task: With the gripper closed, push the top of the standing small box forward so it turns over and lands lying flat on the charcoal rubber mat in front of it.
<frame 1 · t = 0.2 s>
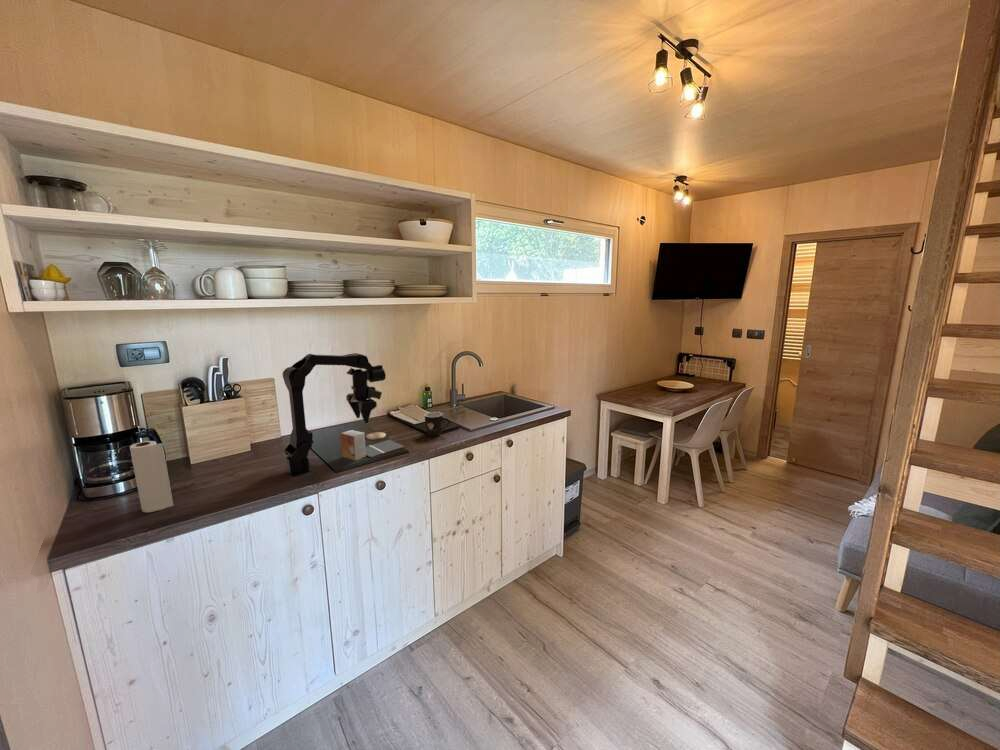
hand: (362, 420, 167), 14 cm above the worktop, fingers open, 9 cm apart
coffee mug: (436, 435, 191), on the worktop
small box: (354, 457, 165), on the worktop
paper towel roll: (156, 509, 125), on the worktop
mat: (380, 449, 173), on the worktop
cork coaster: (375, 436, 189), on the worktop
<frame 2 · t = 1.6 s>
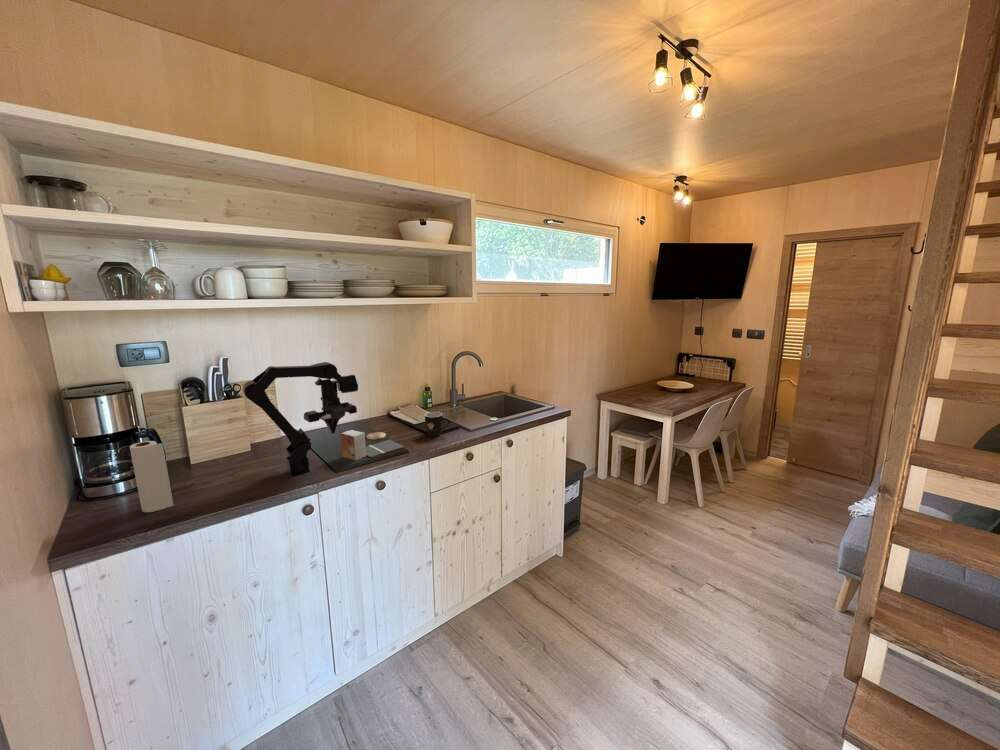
hand: (332, 433, 157), 12 cm above the worktop, fingers closed
nothing on the worktop moved.
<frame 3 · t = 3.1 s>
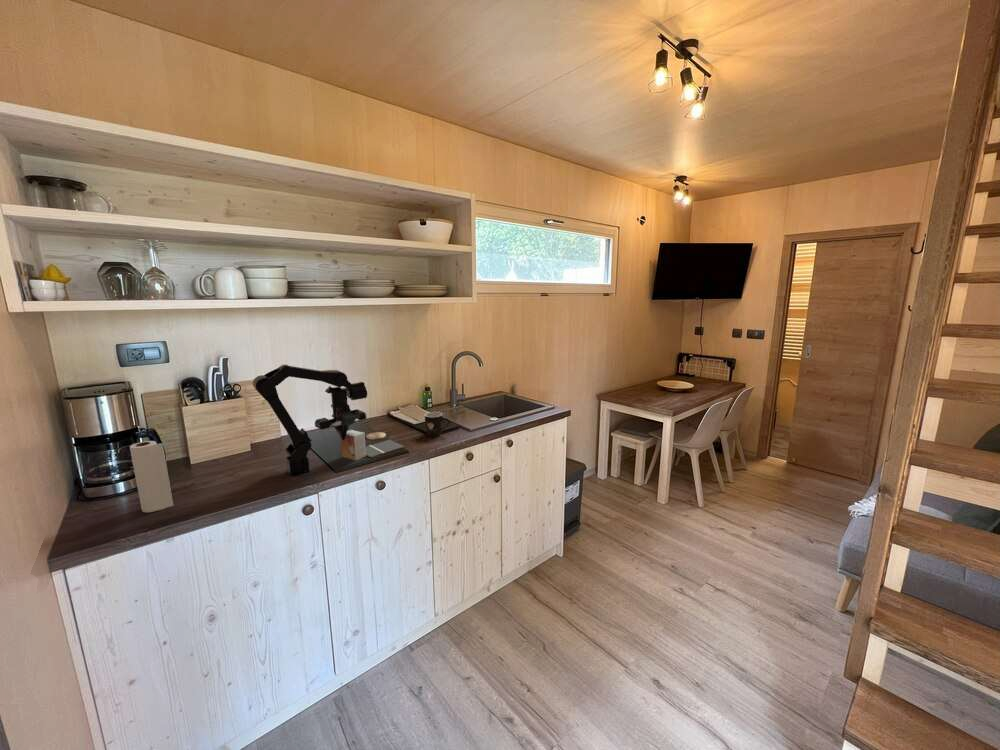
hand: (343, 439, 160), 9 cm above the worktop, fingers closed
small box: (354, 457, 165), on the worktop, touching gripper
everything else where it was.
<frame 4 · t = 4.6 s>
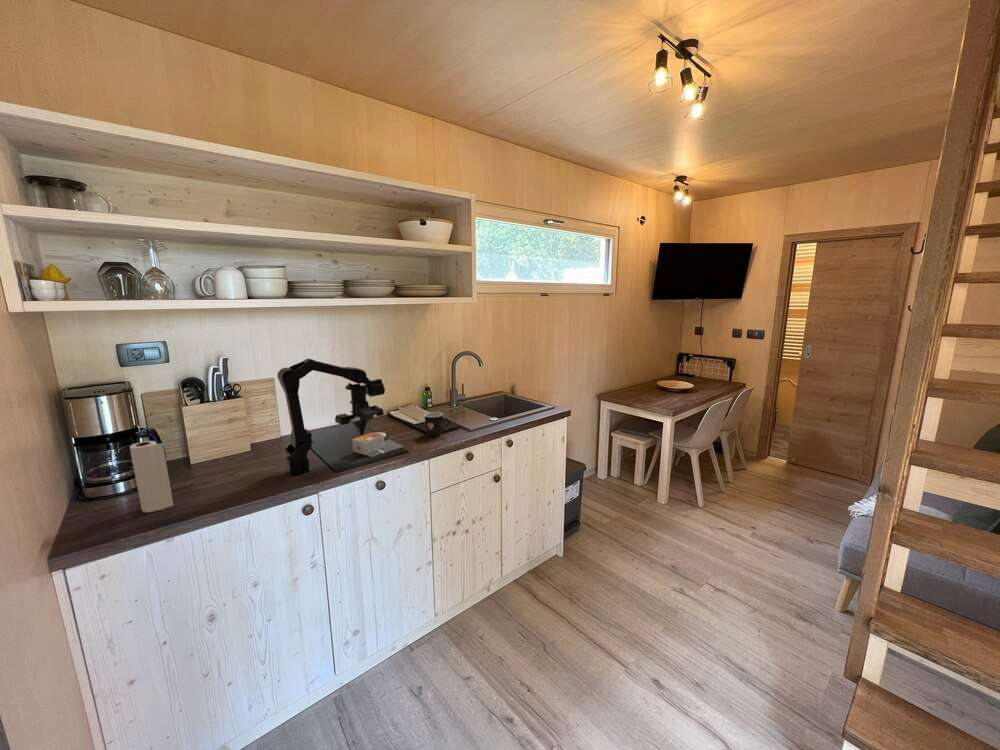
hand: (361, 434, 166), 9 cm above the worktop, fingers closed
small box: (357, 447, 166), point 3 cm above the worktop, touching mat
everything else where it was.
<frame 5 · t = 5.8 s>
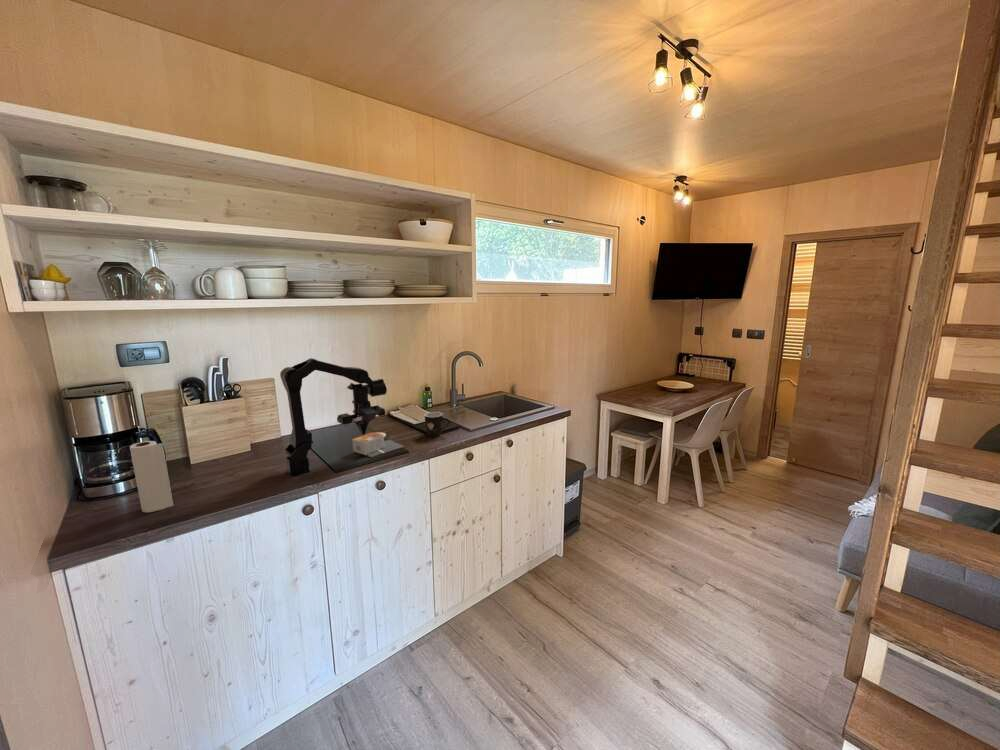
hand: (363, 434, 166), 8 cm above the worktop, fingers closed
nothing on the worktop moved.
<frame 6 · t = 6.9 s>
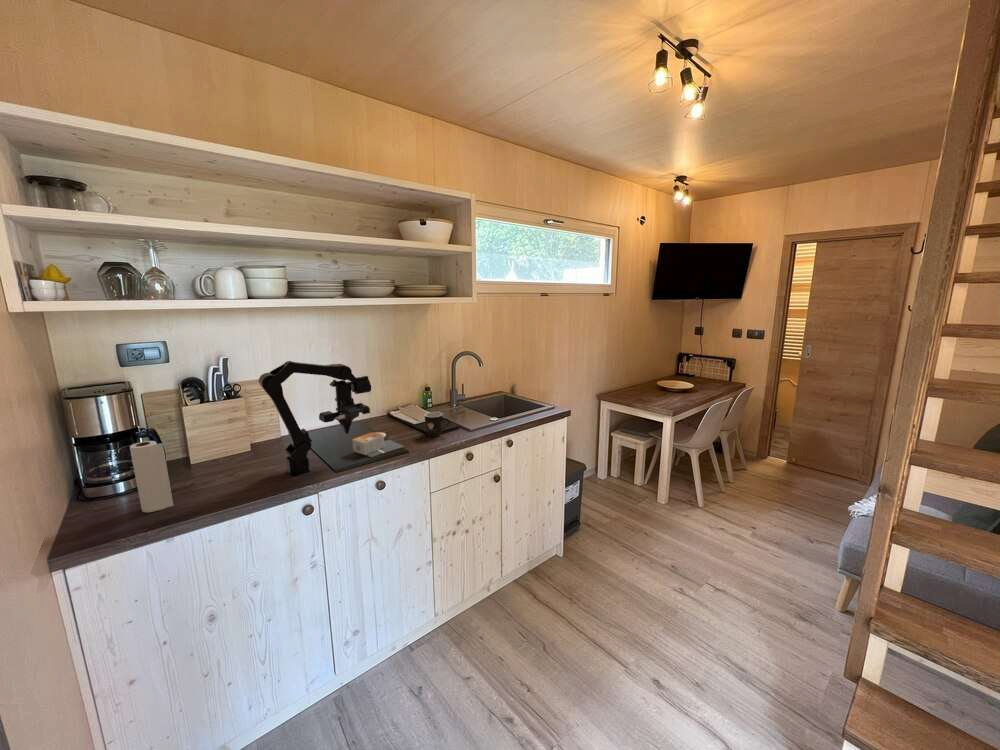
hand: (346, 433, 161), 11 cm above the worktop, fingers closed
nothing on the worktop moved.
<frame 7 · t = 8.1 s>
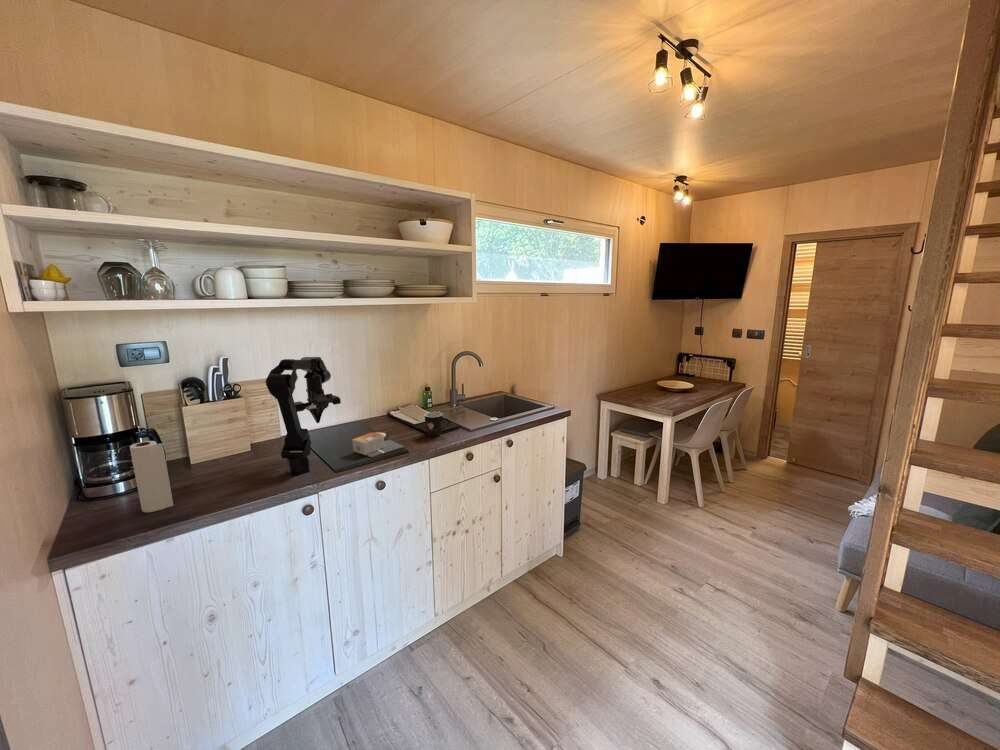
hand: (317, 422, 168), 13 cm above the worktop, fingers closed
nothing on the worktop moved.
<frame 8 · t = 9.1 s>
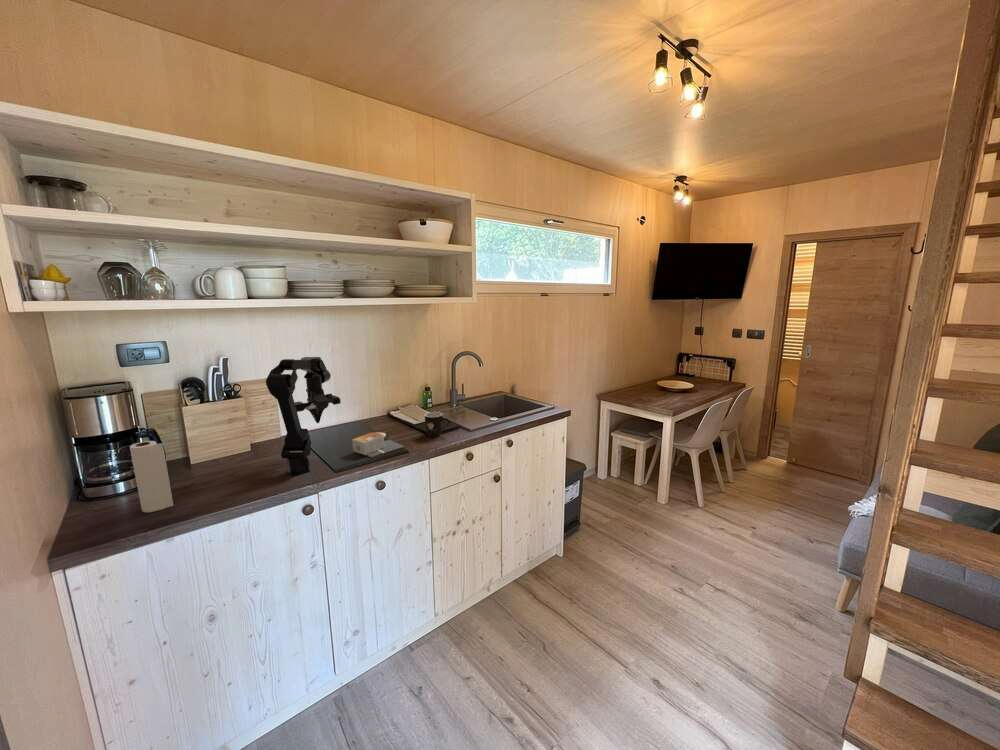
hand: (317, 423, 168), 13 cm above the worktop, fingers closed
nothing on the worktop moved.
at the end: small box tilted 89°; small box inside the target area (7.9 cm from its centre), point 3.3 cm above the worktop; the gripper is holding nothing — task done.
